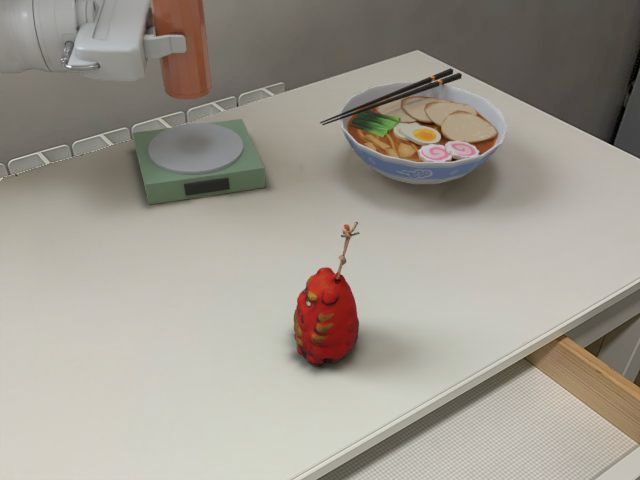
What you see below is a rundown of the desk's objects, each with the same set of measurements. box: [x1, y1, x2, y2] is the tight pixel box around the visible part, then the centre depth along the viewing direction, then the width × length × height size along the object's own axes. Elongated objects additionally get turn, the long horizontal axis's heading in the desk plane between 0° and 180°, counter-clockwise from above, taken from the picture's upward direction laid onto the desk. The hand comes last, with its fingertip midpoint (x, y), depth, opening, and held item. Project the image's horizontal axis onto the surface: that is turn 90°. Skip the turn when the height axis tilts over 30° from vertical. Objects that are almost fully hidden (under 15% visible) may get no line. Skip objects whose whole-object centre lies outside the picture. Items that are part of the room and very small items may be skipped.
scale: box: [132, 118, 266, 205], centre depth 93 cm, size 16×14×4 cm
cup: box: [150, 0, 213, 101], centre depth 81 cm, size 6×6×13 cm
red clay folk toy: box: [293, 221, 361, 366], centre depth 67 cm, size 8×7×15 cm
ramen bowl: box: [319, 67, 509, 185], centre depth 93 cm, size 25×23×8 cm
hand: (187, 29), depth 81 cm, fingers closed on cup, 6 cm apart
